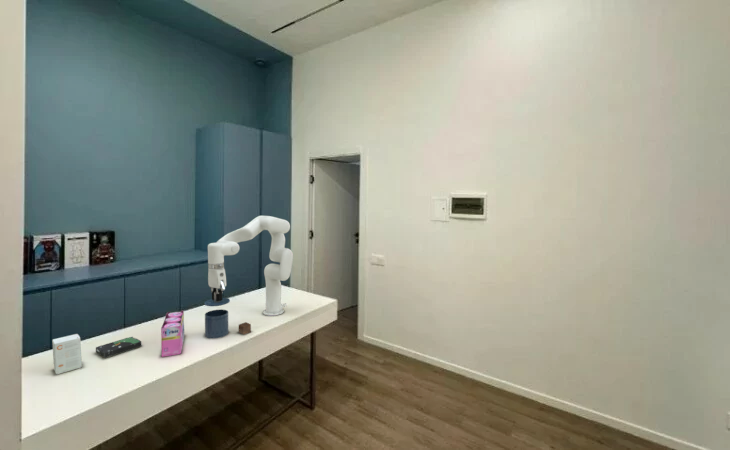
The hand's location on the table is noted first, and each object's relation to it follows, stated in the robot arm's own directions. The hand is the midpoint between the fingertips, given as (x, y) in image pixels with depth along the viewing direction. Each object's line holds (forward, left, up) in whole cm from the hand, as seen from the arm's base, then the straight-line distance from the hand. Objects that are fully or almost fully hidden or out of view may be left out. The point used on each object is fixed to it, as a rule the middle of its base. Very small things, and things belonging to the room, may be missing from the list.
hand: (217, 299), depth 170 cm
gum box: (+20, -4, -19) cm, 28 cm away
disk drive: (+37, -20, -19) cm, 46 cm away
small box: (+56, -17, -19) cm, 62 cm away
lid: (0, 0, -1) cm, 1 cm away
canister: (0, 0, -19) cm, 19 cm away
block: (-10, +10, -19) cm, 23 cm away
